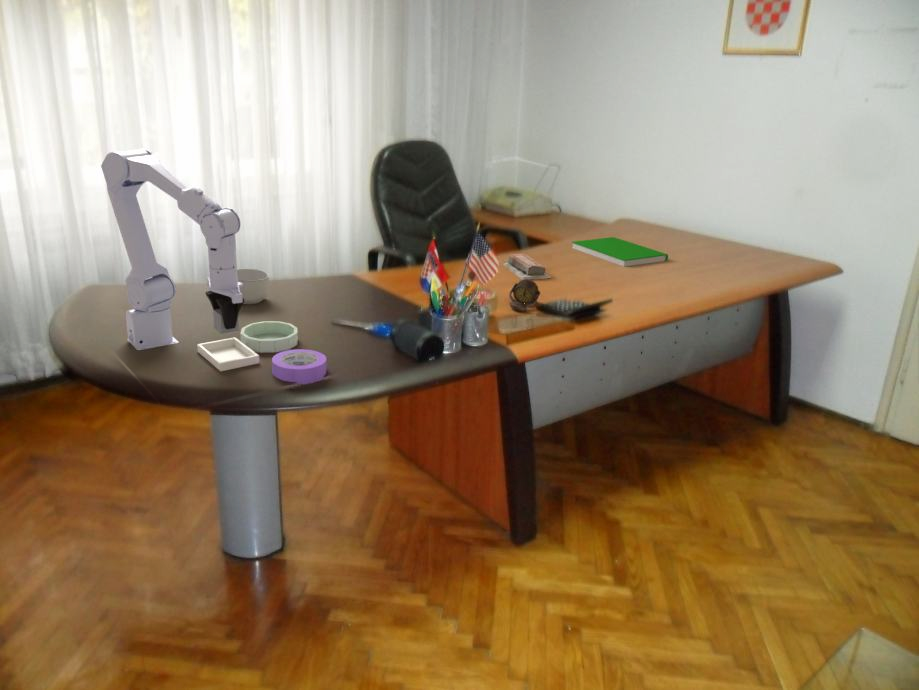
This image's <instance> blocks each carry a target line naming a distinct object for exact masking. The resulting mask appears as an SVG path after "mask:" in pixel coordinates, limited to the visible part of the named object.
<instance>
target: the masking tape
mask: <svg viewBox="0 0 919 690" xmlns="http://www.w3.org/2000/svg"><path fill="white" fill-rule="evenodd" d="M327 363H328V362H327V357H326V355H325V354H323V352H319V351H316V350H312V349H302V348H301V349H289V350H284V351H279V352H277V353H276V354H275V355H273V357H272V358H271V370H272V371H271V374H272V375H273V376H274V377H275V378H276V379H278V380H280V381H284V382H289V383H291V385H293V384H297V386H298V385H299V384H303V385H310V384H315V383H317V381H318V382H320V381H321V380H324V379H325V378H326V374H327V370H328V369H327ZM314 382H315V383H314ZM309 383H310V384H309ZM299 386H300V385H299Z"/></svg>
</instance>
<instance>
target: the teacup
mask: <svg viewBox="0 0 919 690" xmlns="http://www.w3.org/2000/svg"><path fill="white" fill-rule="evenodd" d="M269 278H270V274H269V272H267V271H265V270H262V269H259V268H249V267H248V268H243V267H242V268H237V281H238V282H241V283H242V284H243V287H240V288H239V289H240V293H241V294H242V298H244V303H243V304H242V305H256V304H259V303H261V302H262V301H264V300H265V299H266V298H267V296H268V294H269V287H270V285H269V284H270V283H269V281H270V279H269Z"/></svg>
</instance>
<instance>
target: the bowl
mask: <svg viewBox="0 0 919 690" xmlns="http://www.w3.org/2000/svg"><path fill="white" fill-rule="evenodd" d="M298 329H299V328H298V327H297V326H295V325H293V323H289V322H284V321H281V320H277V321H274V320H270V321H269V320H268V321H267V320H265V321H263V320H262V321H258V322H252V323H250V324H246V325H245V326H243V327H241V329H240V334H239V335H240V336H239V338H240V341H241V342H242V343H243V344H245V345H246V346H247V347H249V348H250V349H251V350H253V351H254V352H255V353H280V352H283V351H287V350H292V348H294V347H296V346H298V341H299V339H298V338H299V336H298V331H299V330H298Z"/></svg>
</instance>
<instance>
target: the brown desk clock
mask: <svg viewBox="0 0 919 690" xmlns="http://www.w3.org/2000/svg"><path fill="white" fill-rule="evenodd" d="M508 295H509V299H510V301H509V303H508V304H509V307H510V308H511V309H512V310H513V311H515V310H516V312H525V311H527V309H528V308H529V307H533V306H534V305H536V303H537V301H538V299H539V297H540V295H541V292H540V289H539V286H538V284H537V283H536V282H535V281H534V280H530V279H523V280H522V279H520V280H519V281H518V282H517V283H514V284H513V286H512V288H511V290H510V292H509V294H508ZM512 295H513V296H512ZM524 303H525V304H524Z"/></svg>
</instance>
